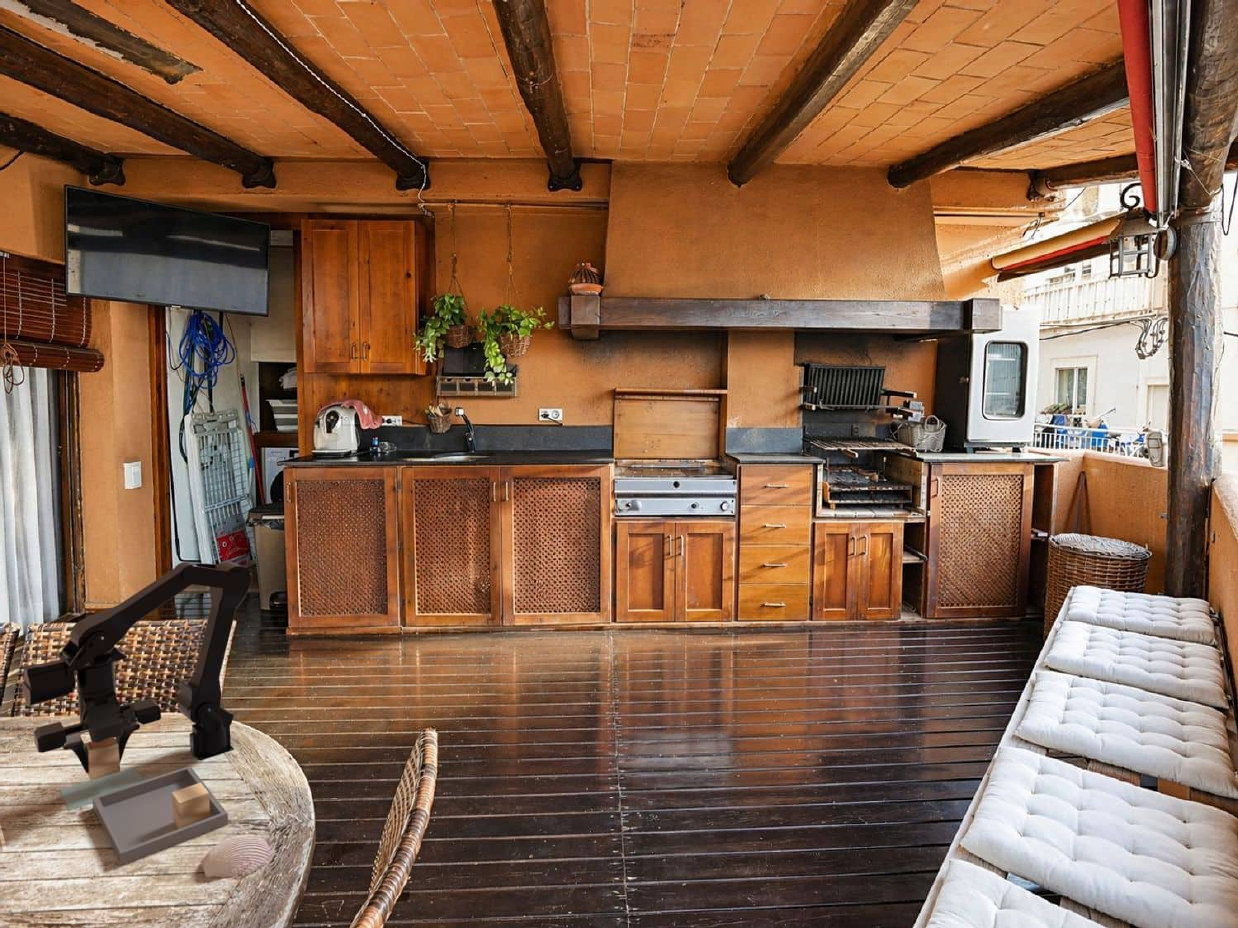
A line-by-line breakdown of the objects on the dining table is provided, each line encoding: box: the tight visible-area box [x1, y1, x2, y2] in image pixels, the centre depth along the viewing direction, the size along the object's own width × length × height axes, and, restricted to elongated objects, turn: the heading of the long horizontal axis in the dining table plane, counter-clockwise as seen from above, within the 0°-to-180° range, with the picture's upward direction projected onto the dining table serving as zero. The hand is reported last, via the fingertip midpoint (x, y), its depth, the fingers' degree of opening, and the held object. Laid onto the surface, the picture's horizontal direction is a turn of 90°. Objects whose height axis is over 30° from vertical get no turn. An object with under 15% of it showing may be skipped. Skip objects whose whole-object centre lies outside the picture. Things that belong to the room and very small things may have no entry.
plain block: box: [172, 783, 210, 829], centre depth 127 cm, size 4×4×6 cm
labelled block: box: [84, 737, 121, 781], centre depth 137 cm, size 4×4×6 cm
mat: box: [59, 766, 145, 811], centre depth 138 cm, size 12×9×1 cm
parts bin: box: [92, 765, 229, 867], centre depth 129 cm, size 16×22×2 cm
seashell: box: [200, 835, 271, 880], centre depth 118 cm, size 10×6×10 cm
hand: (102, 767), depth 137 cm, fingers closed on labelled block, 4 cm apart
